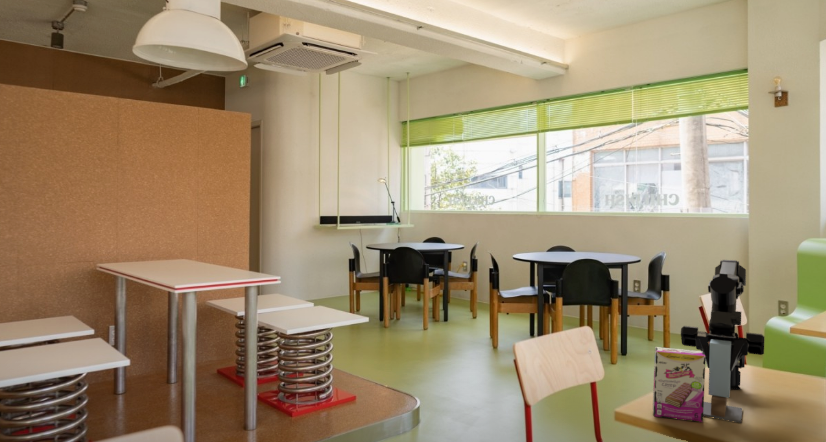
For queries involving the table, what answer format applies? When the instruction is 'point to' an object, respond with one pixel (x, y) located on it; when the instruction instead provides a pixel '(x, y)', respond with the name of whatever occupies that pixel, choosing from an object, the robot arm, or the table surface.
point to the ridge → (718, 405)
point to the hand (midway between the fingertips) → (719, 368)
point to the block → (719, 368)
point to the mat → (730, 413)
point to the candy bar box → (679, 384)
